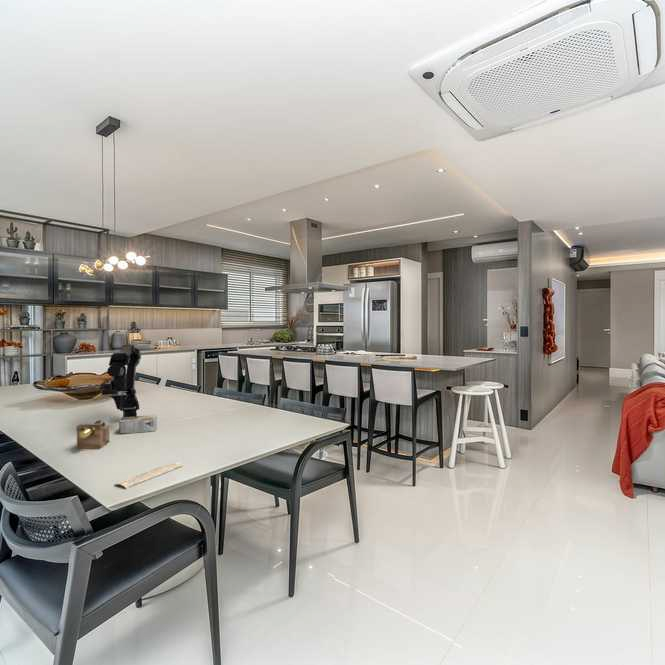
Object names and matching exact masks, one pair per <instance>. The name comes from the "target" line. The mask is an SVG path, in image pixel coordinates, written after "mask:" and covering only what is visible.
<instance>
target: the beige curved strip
mask: <svg viewBox="0 0 665 665" xmlns="http://www.w3.org/2000/svg"><path fill="white" fill-rule="evenodd" d="M184 466H185V464H183V463H182V462H179V461H174V462H170V463H168V464H166V465H163V466H160V467H157V468H155V469H152V470H150V471H146V472H144V473H142V474H139V475H136V476H134V477H131V478H128V479H126V480H123V481H120V482H118V483H116V484H113V486H114V487H117V486H123V487H124V488H125V489H126V490H128V489H131V488H133V487H135V486H138V485H140V484H143V483H145V482H148V481H151V480H152V479H155V478H158V477H161V476H163V475H165V474H167V473H170V472H173V471H176V470H178V469H180V468H183V467H184Z"/></svg>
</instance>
